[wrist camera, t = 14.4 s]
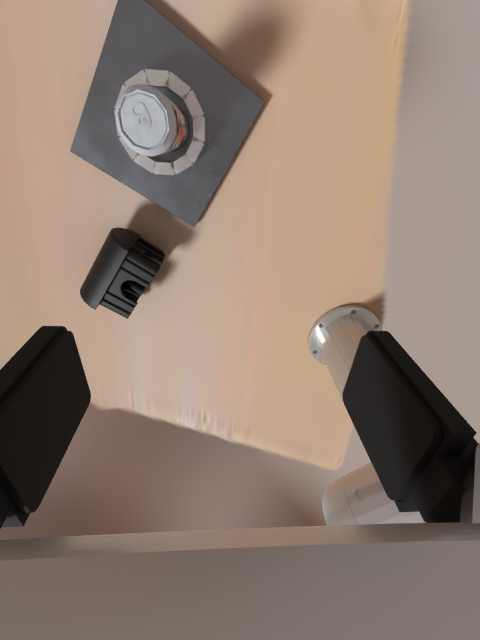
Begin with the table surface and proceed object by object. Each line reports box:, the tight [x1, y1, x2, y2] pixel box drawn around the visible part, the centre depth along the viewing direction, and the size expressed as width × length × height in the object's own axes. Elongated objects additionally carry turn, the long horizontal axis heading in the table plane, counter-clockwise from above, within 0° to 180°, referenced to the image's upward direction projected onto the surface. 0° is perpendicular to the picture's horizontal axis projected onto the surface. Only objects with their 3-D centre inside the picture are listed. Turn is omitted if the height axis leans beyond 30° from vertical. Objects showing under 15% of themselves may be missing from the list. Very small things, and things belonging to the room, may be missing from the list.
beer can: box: [115, 84, 188, 156], centre depth 28 cm, size 5×5×12 cm
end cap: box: [80, 228, 165, 319], centre depth 39 cm, size 10×7×7 cm
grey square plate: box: [70, 0, 264, 227], centre depth 32 cm, size 16×16×4 cm
